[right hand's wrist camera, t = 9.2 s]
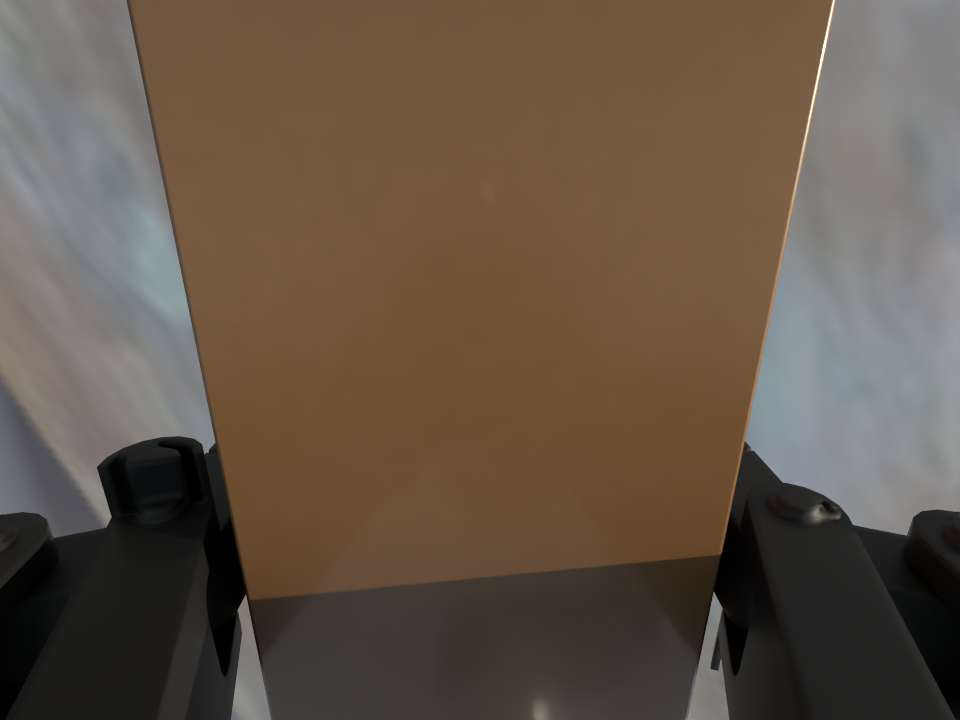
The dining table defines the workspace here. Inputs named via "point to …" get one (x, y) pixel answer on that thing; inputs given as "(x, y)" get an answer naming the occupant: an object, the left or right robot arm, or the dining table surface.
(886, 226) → the dining table surface
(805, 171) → the dining table surface
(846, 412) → the dining table surface
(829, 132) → the dining table surface
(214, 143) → the bar
